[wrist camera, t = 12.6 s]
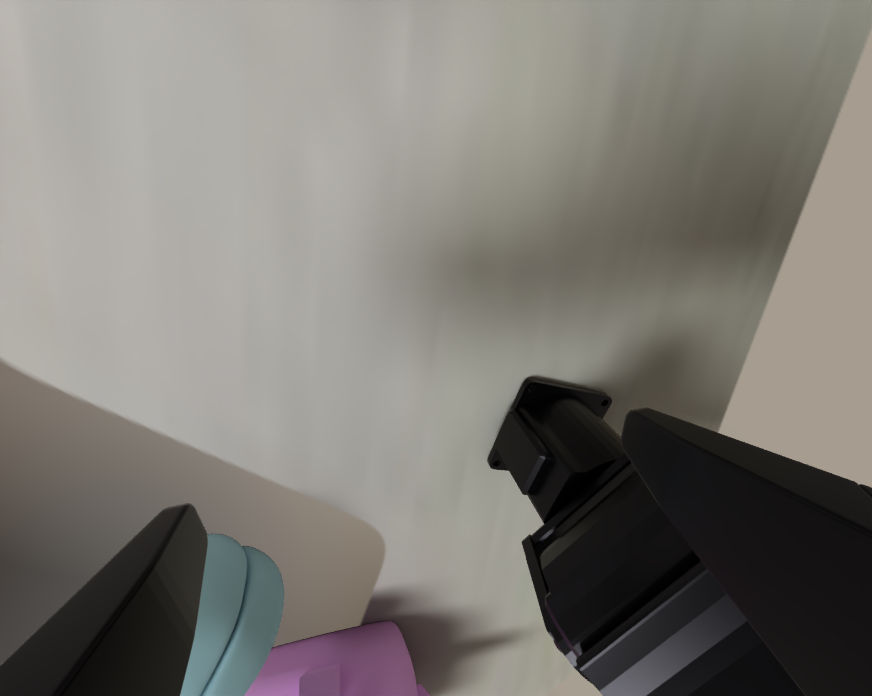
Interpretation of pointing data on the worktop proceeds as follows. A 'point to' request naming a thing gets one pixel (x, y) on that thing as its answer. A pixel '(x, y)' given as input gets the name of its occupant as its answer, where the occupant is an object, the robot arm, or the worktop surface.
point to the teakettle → (341, 665)
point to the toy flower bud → (233, 619)
